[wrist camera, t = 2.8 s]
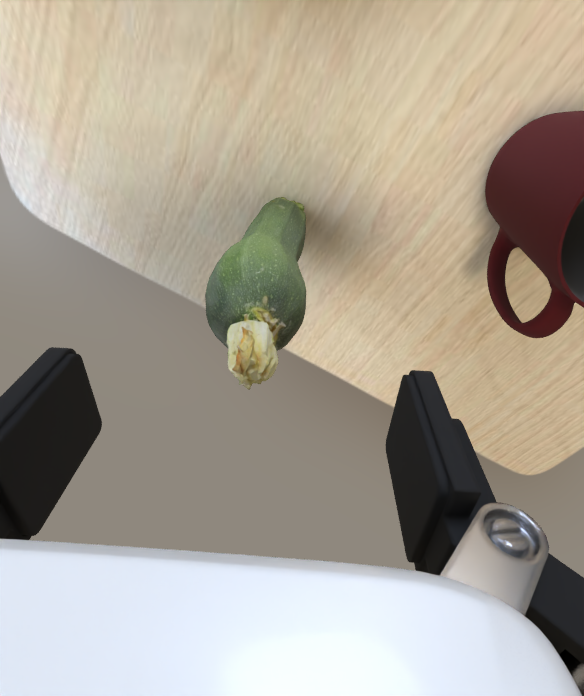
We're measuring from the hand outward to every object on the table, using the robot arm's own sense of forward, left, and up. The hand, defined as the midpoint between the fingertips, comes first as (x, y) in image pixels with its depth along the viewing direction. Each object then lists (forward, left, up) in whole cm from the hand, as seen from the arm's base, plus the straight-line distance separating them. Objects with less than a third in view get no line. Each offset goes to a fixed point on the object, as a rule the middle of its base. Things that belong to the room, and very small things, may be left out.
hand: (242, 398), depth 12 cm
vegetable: (0, 0, -20) cm, 20 cm away
